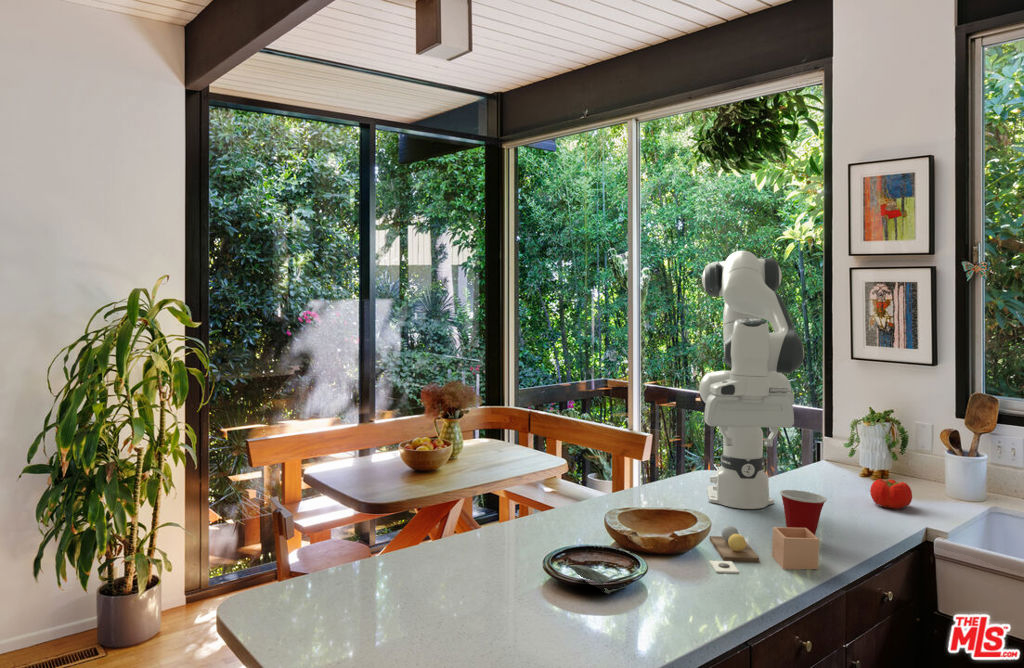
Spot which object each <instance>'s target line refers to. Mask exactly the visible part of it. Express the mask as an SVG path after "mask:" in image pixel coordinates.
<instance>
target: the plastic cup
mask: <svg viewBox="0 0 1024 668" xmlns="http://www.w3.org/2000/svg"><path fill="white" fill-rule="evenodd" d="M779 494H780V495H781V500H782V505H783V512H784V513H783V514H784V518H785V526H786V527H792V528H807V529H808V530H809V531H810V532H812V533H813V534H814V535H815V536H816V532H817V530H818V525H819V522H820V517H821V514H822V510H823V507H824V504H825V503H826V502H827V498H826V497H825V496H823V495H821V494H817V493H814V492H810V491H805V490H797V489H781V491H779Z"/></svg>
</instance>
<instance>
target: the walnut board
mask: <svg viewBox="0 0 1024 668" xmlns="http://www.w3.org/2000/svg"><path fill="white" fill-rule="evenodd" d="M709 541H710V543H711V544H712V546H713V547H714V549H715V551H716V552H717V554H718V555H719V557H721V559H722V561H732V562H740V563H742V562H743V563H744V562H745V563H759V562H760V557H759V556H758V555H757V553H756V552H755V551H754V549H752V547H751V546H750V545H749V543H748V542H747V541H746V546H745V548H744V549H743V550H742V551H739V552H737V551H733V550H732V549H731V548H730V547H729V544H728V542H727V541H725V540H724V539H723V537H722V535H721V536H720V535H719V536H715V535H711V536H710V535H709Z"/></svg>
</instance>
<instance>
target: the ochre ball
mask: <svg viewBox="0 0 1024 668" xmlns="http://www.w3.org/2000/svg"><path fill="white" fill-rule="evenodd" d="M746 542H747V541H746V538H745V537H744V536H743V535H742V534H740V533H739V534H733V535H731V536H730V537H729V540H728V544H729V547H730V548H731V549H732V550H733V551H737V552H739V551H742V550H743V549H744V548H745V546H746Z"/></svg>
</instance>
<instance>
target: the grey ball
mask: <svg viewBox="0 0 1024 668" xmlns="http://www.w3.org/2000/svg"><path fill="white" fill-rule="evenodd" d="M733 534H740V533H739V530H738V528H737V527H736V526H733V525H726V526H724V527H723V528H722V529H721V536H722V537H723V539H724V540H725V541H727V542H728V540H729V537H730V536H731V535H733Z"/></svg>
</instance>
